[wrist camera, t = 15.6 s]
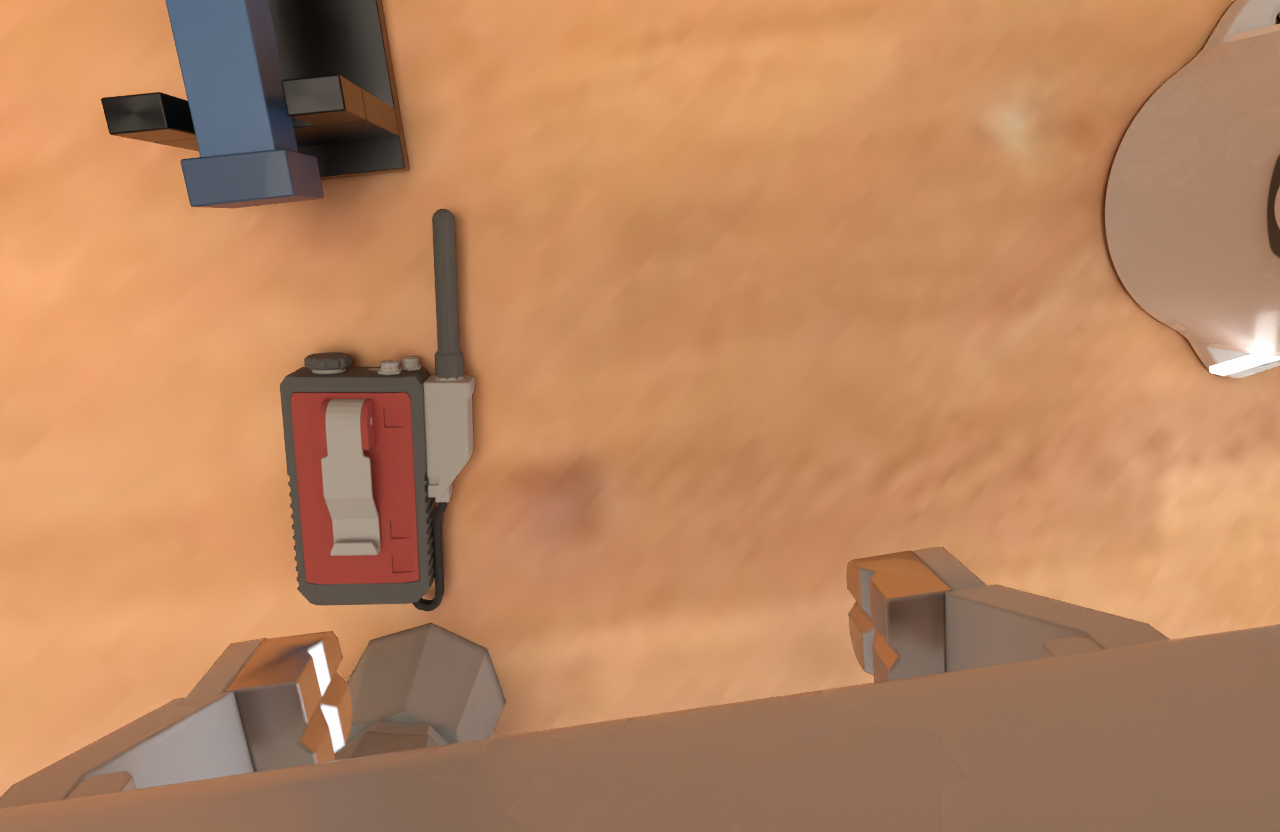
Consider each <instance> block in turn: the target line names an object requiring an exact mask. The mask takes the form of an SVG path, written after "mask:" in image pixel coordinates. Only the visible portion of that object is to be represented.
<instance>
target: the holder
mask: <svg viewBox="0 0 1280 832" xmlns="http://www.w3.org/2000/svg"><path fill="white" fill-rule="evenodd" d="M268 1H269V6H270V11H271V16H272V21H273V27H274V32H275V37H276V42H277V47H278V52H279V57H280V62H281V67H282V72H283V77H284V80H282V81H281V84H282V89H283V94H284V99H285V104H286V109H287V114H288V116H290V117H291V118H292V123H293V128H294V133H295V138H296V144H297V149H298V152H299V153H303V154H307V155H311V156H315V157H316V158H317V163H318V168H319V173H320V179H330V178H339V177H348V176H358V175H367V174H376V173H386V172H395V171H404V170H409V169H410V168H409V162H408V156H407V150H406V144H405V138H404V132H403V126H402V120H401V114H400V108H399V102H398V96H397V90H396V84H395V78H394V72H393V67H392V61H391V55H390V49H389V43H388V37H387V31H386V25H385V19H384V13H383V7H382V1H381V0H268ZM101 101H102V105H103V109H104V113H105V117H106V121H107V125H108V129H109V133H110V134H111V135H115V136H121V137H126V138H132V139H137V140H142V141H148V142H153V143H158V144H163V145H169V146H174V147H180V148H185V149H191V150H196V151H199V147H198V143H197V138H196V134H195V130H194V125H193V121H192V116H191V112H190V107H189V103H188V101H186V100H183V99H180V98H176V97H173V96H170V95H167V94H163V93H160V92H156V93H146V94H136V95H126V96H116V97H106V98H102V99H101Z"/></svg>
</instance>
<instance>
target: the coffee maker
mask: <svg viewBox="0 0 1280 832" xmlns="http://www.w3.org/2000/svg"><path fill="white" fill-rule="evenodd" d="M348 684H349V689H350V694H351V699H352V713H353V715H352V724H351V732H350V735H349V738H348V740H347V743H346V745H345V746H344V747H343V748H341V749H340V750H339V751H337V752H336V753H335V758H336V760H342V759H349V758H356V757H363V756H370V755H377V754H383V753H390V752H397V751H404V750H411V749H418V748H425V747H432V746H439V745H446V744H453V743H460V742H467V741H474V740H480V739H487V738H490V737H491V735H492V733H493V730H494V728H495V726H496V723H497V721H498V719H499V716H500V714H501V712H502V709H503V707H504V705H505V702H506V701H505V698H504V696H503V693H502V690H501V687H500V684H499V682H498V679H497V676H496V673H495V670H494V668H493V665H492V662H491V659H490V656H489V654H488V651H487V649H485V648H483V647H481V646H479V645H477V644H474V643H472V642H470V641H468V640H466V639H464V638H461V637H459V636H457V635H455V634H453V633H451V632H448V631H446V630H444V629H442V628H440V627H438V626H435V625H433V624H431V623H430V624H427V625H423V626H420V627H416V628H413V629H409V630H406V631H402V632H399V633H395V634H392V635H388V636H385V637H381V638H378V639H374V640H371V641H370V642H369V644H368V646H367V648H366V649H365V651H364V653H363V655H362V657H361V659H360V660H359V662H358V664H357V666H356V668H355V670H354V671H353V673H352V675H351V677H350V679H349V681H348Z"/></svg>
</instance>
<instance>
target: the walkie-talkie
mask: <svg viewBox="0 0 1280 832" xmlns="http://www.w3.org/2000/svg"><path fill="white" fill-rule="evenodd" d="M432 223H433V246H434V269H435V292H436V315H437V338H438V352H437V353H436V354H435V374H436V375H431V376H430V375H429V373H428V372H427V371H426V370H425V368H424V367H422V365H419V358H418V357H404V358H402V364H401V366H400V367H399V363H398V361H382V362H381V363H380V364H381V365H380V366H381V367H349V366H350V365H351V364H352V357H351V356H350V355H348V354H344V353H319V354H312V355H308V356H307V357H306V358H305V359H304V361H305V366H306V367H302V368H300V369H298V370H296V371H295V372H293V373H291V374H289V375H287V376H286V377H285V378H284V380H283V381H282V383H281V384H280V392H281V403H282V415H283V427H284V438H285V450H286V461H287V473H288V475H289V476H290V482H289V483H288V484H289V486H290V487H291V492H290V493H289V495H290V497H291V498H292V503H291V504H290V507H291V508H292V510H293V514H292V515H291V518H292V519H293V522H294V524H293V525H292V529H294V533H295V535H294V536H293V539H294V540H295V546H294V550H296V556H295V560H296V561H297V567H296V571H298V577H297V581H298V582H299V587H298V590H299V591H300V592H301V593H302V595H303V596H304V597H305V598H306V599H307V600H308V601H309V602H310V603H312V604H315V605H362V604H406V603H413V605H414V606H415V607H416V608H417V609H419V610H424V611H431V610H434V609H435V608H437V607H438V606H439V604H440V603H441V600H442V597H443V593H444V576H443V553H442V515H443V513H444V511H445V509H446V507H447V502H449V501H450V499H451V496H452V482H453V481H454V479H455V478H456V477H457V475H458V474H459V473H460V471H461V470H462V469H463V467H464V466H465V465H466V463H467V462H468V461H469V459H470V457H471V455H472V452H473V416H472V394H473V392H474V390H475V383H474V376H463V354H462V353H461V352H460V351H459V323H458V293H457V264H456V236H455V217H454V215H453V214H452V213H451V212H450V211H449V210H446V209H440V210H437V211H436V212H435V213H434V215H433V218H432ZM435 501H436V502H439V506H438V508H437V510H436V507H435V506H434V503H435ZM434 578H435V590H436V592H435V598H434V599H432V600H425V599H423V598H421V597H422V596H423V595H424V594H425V593H426V592H427V591H428V590H429V589H430V587H431V586H432V583H433V581H434Z"/></svg>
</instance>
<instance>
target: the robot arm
mask: <svg viewBox="0 0 1280 832" xmlns="http://www.w3.org/2000/svg"><path fill="white" fill-rule="evenodd" d="M1277 15H1278V16H1279V18H1280V0H1236V1H1235V2H1234V3H1233V4H1232V5H1231V6H1230V7H1229V8H1228V10H1227V11H1226V12H1225V14H1224V15H1223V17H1222V18H1221V20H1220V21H1219V23H1218V24H1217V26H1216V28H1215V29H1214V31H1213V33H1212V34H1211V36H1210V38H1209V40H1208V41H1207V43H1206V45H1205V47H1204V48H1203V49H1202V50H1201V51H1200V53H1199V54H1198V55H1197V56H1196V57H1195V58H1194V59H1192V60H1191V61H1190V62H1189V63H1188V64H1187V65H1185V66H1184V67H1183V68H1182V69H1180V70H1179V71H1178V72H1177V73H1176V74H1174V75H1173V76H1172V77H1171V78H1169V79H1168V80H1167V81H1166V82H1165V83H1164V84H1163V85H1162V86H1161V87H1160V88H1159V89H1158V90H1157V91H1156V92H1155V93H1154V94H1153V95H1152V96H1151V97H1150V98H1149V100H1148V101H1147V102H1146V103H1145V104H1144V106H1143V107H1142V108H1141V110H1140V111H1139V112H1138V114H1137V115H1136V117H1135V118H1134V120H1133V122H1132V123H1131V125H1130V126H1129V128H1128V130H1127V132H1126V134H1125V135H1124V138H1123V140H1122V142H1121V144H1120V146H1119V149H1118V151H1117V154H1116V156H1115V159H1114V162H1113V165H1112V168H1111V172H1110V176H1109V180H1108V186H1107V192H1106V200H1105V229H1106V237H1107V243H1108V248H1109V252H1110V255H1111V259H1112V262H1113V264H1114V267H1115V270H1116V272H1117V274H1118V276H1119V278H1120V280H1121V282H1122V283H1123V285H1124V287H1125V288H1126V290H1127V291H1128V292H1129V294H1130V295H1131V297H1132V298H1133V299H1134V300H1135V301H1136V302H1137V303H1138V304H1139V305H1140V306H1141V307H1142V308H1143V309H1144V310H1145V311H1146V312H1147V313H1149V314H1150V315H1151V316H1152V317H1154V318H1155V319H1157V320H1158V321H1160V322H1162V323H1163V324H1165V325H1167V326H1169V327H1170V328H1172V329H1174V330H1176V331H1177V332H1179V333H1180V334H1181V335H1183V336H1184V337H1185V338H1186V339H1187V340H1188V341H1189V342H1190V344H1191V346H1192V347H1193V349H1194V350H1195V352H1196V354H1197V355H1198V357H1199V358H1200V360H1201V361H1202V363H1203V364H1204V365H1205V367H1206V368H1207V369H1208V370H1209V371H1210V373H1213V374H1214V375H1216V376H1219V377H1227V378H1243V377H1247V376H1250V375H1253V374H1256V373H1259V372H1262V371H1265V370H1268V369H1271V368H1274V367H1278V366H1280V24H1276V17H1277ZM847 589H848V590H849V591H850V593H851V594H852V595H853V597H854V598H855V600H856V603H855V604H854V606H853V607H852V609H851V611H850V612H849V626H850V635H851V640H852V644H853V649H854V652H855V655H856V657H857V660H858V662H859V664H860V665H861V667H862V668H863V670H864V671H865V672H867V673H870V674H872V675H874V683H869V684H862V685H855V686H848V687H841V688H834V689H827V690H820V691H813V692H806V693H799V694H792V695H785V696H778V697H771V698H765V699H758V700H751V701H744V702H737V703H730V704H723V705H716V706H709V707H702V708H695V709H688V710H681V711H674V712H668V713H661V714H654V715H647V716H640V717H633V718H626V719H619V720H612V721H605V722H598V723H591V724H584V725H577V726H571V727H564V728H557V729H550V730H543V731H536V732H529V733H522V734H515V735H508V736H501V737H494V738H487V739H480V740H474V741H467V742H460V743H453V744H446V745H439V746H432V747H425V748H418V749H411V750H404V751H397V752H390V753H383V754H377V755H370V756H363V757H356V758H349V759H342V760H336V758H335V753H336V752H337V751H339V750H340V749H341V748H343V747H344V746H345V745H346V743H347V740H348V738H349V735H350V732H351V724H352V715H353V713H352V699H351V694H350V689H349V684H348V683H347V682H346V681H345V680H344V679H343V678H342V677H340V676H339V675H338V674H337V673H336V670H337V668H338V666H339V664H340V662H341V660H342V658H343V657H342V653H341V649H340V645H339V641H338V638H337V636H336V635H335V634H334V633H333V631H329V632H321V633H312V634H304V635H295V636H287V637H279V638H270V639H266V638H262V639H256V640H250V641H244V642H238V643H232V644H230V645H229V646H228V647H227V649H226V650H225V651H224V652H223V653H222V655H221V656H220V657H219V658H218V659H217V661H216V662H215V663H214V664H213V666H212V667H211V668H210V669H209V670H208V672H207V673H206V674H205V675H204V676H203V678H202V679H201V680H200V681H199V683H198V684H197V685H196V686H195V687H194V689H193V690H192V691H191V692H190V694H189V695H188V696H187V697H186V698H179V699H175V700H173V701H171V702H169V703H167V704H165V705H163V706H161V707H159V708H158V709H156V710H154V711H152V712H150V713H148V714H146V715H144V716H143V717H141V718H139V719H137V720H135V721H133V722H131V723H129V724H127V725H126V726H124V727H122V728H120V729H118V730H116V731H114V732H112V733H110V734H109V735H107V736H105V737H103V738H101V739H99V740H97V741H95V742H93V743H92V744H90V745H88V746H86V747H84V748H82V749H80V750H78V751H76V752H75V753H73V754H71V755H69V756H67V757H65V758H63V759H61V760H59V761H58V762H56V763H54V764H52V765H50V766H48V767H46V768H44V769H42V770H41V771H39V772H37V773H35V774H33V775H31V776H29V777H27V778H25V779H24V780H22V781H20V782H18V783H16V784H14V785H12V786H11V787H10V788H9V789H8V790H7V791H6V792H5V793H4V794H3V795H2V796H1V797H0V832H1280V624H1278V625H1271V626H1264V627H1257V628H1250V629H1243V630H1236V631H1229V632H1222V633H1215V634H1208V635H1202V636H1195V637H1188V638H1181V639H1174V640H1170V639H1169V638H1167V637H1166V636H1164V635H1163V634H1162V633H1160V632H1159V631H1157V630H1156V629H1155V628H1153V627H1152V626H1150V625H1149V624H1147V623H1143V622H1139V621H1135V620H1131V619H1128V618H1124V617H1120V616H1116V615H1112V614H1108V613H1104V612H1101V611H1097V610H1093V609H1089V608H1085V607H1081V606H1077V605H1074V604H1070V603H1066V602H1062V601H1058V600H1054V599H1050V598H1047V597H1043V596H1039V595H1035V594H1031V593H1027V592H1023V591H1020V590H1016V589H1012V588H1008V587H1004V586H1000V585H991V586H987V585H986V584H985V583H984V582H983V581H981V580H980V579H979V578H978V577H977V576H976V575H975V574H973V573H972V572H971V571H970V570H969V569H968V568H967V567H965V566H964V565H963V564H962V563H961V562H960V561H958V560H957V559H956V558H955V557H954V556H953V555H952V554H950V553H949V552H948V551H947V550H946V549H945V548H944V547H933V548H927V549H921V550H916V551H911V550H910V551H904V552H898V553H891V554H885V555H879V556H873V557H866V558H860V559H854V560H851V561H850V562H848V565H847Z"/></svg>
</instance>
